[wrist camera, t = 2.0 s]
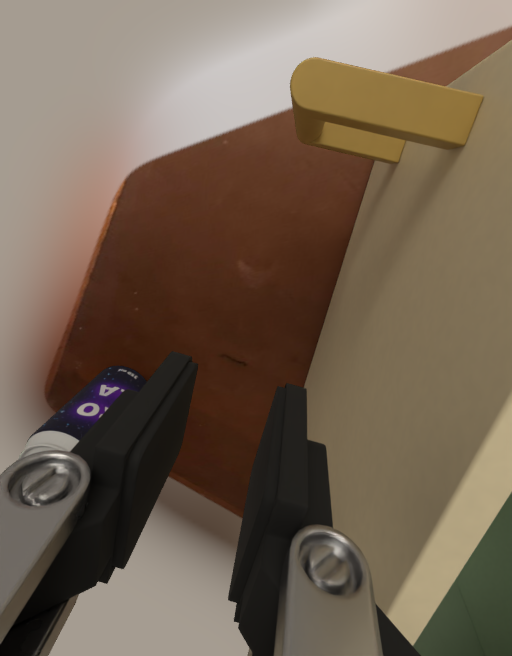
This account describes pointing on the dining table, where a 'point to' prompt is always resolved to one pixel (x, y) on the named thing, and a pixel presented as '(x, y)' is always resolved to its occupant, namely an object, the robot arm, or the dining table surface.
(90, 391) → the beverage can
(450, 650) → the cupboard
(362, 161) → the dining table surface
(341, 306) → the cupboard door
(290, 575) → the robot arm
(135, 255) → the dining table surface
